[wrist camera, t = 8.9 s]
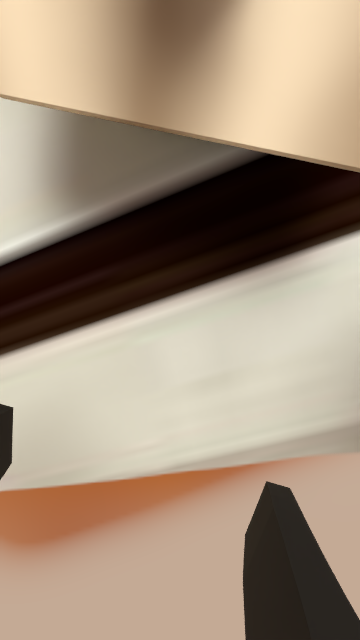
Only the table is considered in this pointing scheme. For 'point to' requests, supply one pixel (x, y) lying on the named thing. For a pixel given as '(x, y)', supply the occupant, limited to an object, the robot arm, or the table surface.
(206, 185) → the table surface
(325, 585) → the robot arm
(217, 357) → the table surface
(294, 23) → the lid
